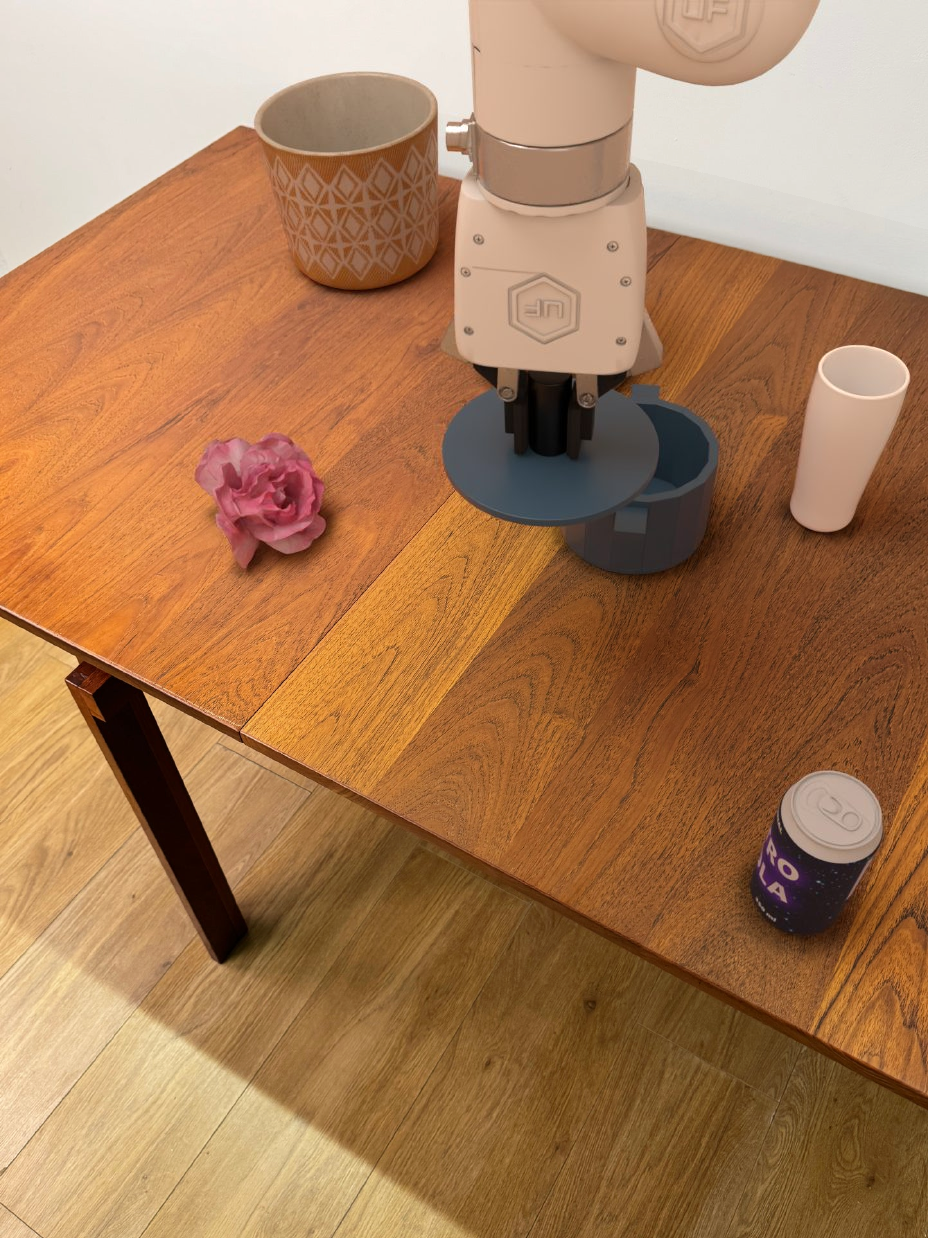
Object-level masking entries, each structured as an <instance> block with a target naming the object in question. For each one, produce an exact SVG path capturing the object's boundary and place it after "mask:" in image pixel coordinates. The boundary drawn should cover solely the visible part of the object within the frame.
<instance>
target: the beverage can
mask: <svg viewBox="0 0 928 1238" xmlns="http://www.w3.org/2000/svg"><path fill="white" fill-rule="evenodd" d="M883 837H884V822H883V813H882V808H881V805H880V802H879V800H878V798H877V796H876V795H875V794H874V792H873V791H872V790H871V789H870V788H869V786H867V785H866V784H865V783H864V782H862V781H861V780H859V779H857V778H856V777H854V776H852V775H850V774H849V773H845V772H841V771H836V770H818V771H813V772H812V773H808V774H807V775H805V776H803V777H801V778H800V780H798V781H796V782H793V784H792V785H790V786H789V788H787V789H786V791H785V792H784V794H783V795H782V797H781V799H780V802H779V804H778V807H777V810H776V812H775V814H774V818H773V820H772V823H771V825H770V827H769V831H768V833H767V836H766V838H765V841H764V843H763V846H762V848H761V852H760V854H759V857H758V858H757V861H756V864H755V866H754V870H753V871H752V874H751V879H750V893H751V897H752V900H753V903H754V905H755V907H756V909H757V910H758V912H759V913H760V914H761V916H762V917H763V918H764V919H765V920H766V921H767V922H768V923H770V924H771V925H772V926H774V927H776V928H777V929H779V930H781V931H783V932H785V933H789V934H792V935H796V936H813V935H817V934H820V933H823V932H825V931H827V930H828V929H830V928H831V927H832V926H833V925H834V924H835V923H836V922H837V920H838V919H839V916H840V915H841V914H842V911H843V909H844V908H845V907H846V904H847V903H848V901H849V899H850V898H851V896H852V894H853V892H855V889H856V887H857V886H858V884H859V882H860V881H861V879H862V877H863V875H864V874H865V872H866V870H867V869H868V867H869V865H870V864H871V862H872V860H873V859H874V856H875V855H876V853H877V851H878V850H879V848H880V846H881V844H882V841H883Z"/></svg>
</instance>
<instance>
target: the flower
mask: <svg viewBox="0 0 928 1238" xmlns="http://www.w3.org/2000/svg"><path fill="white" fill-rule="evenodd" d="M194 481H195V482H196V483H197V484H198V485H199V487H200V489H202V490H204V491H205V492H206V493H207V494H208V495H210V497H212V499H213V501H214V503H215V505H216V507H217V509H218V511H217V513H216V514H215V521H216V527H218V529H220V530H221V531H222V532H223V534H224V535H225V537H226V538H227V540H228V543H229V544H230V547H231V553H232V555H233V557H234V559H235V560H236V562H237V563H238V565H239V566H240V568H242V569H247V567H248V565H249V563H250V562H251V561H252V559H253V557H254V555H255V553H256V550H257V548H258V547H259V545H260V541H262V542H264V543H265V544H266V545H268V546H270V547H271V548H273V549H275V550H276V551H279V552H280V553H283V554H285V555H287V554H288V555H289V554H295V553H298V552H301V551H304V550H306V549H308V548H310V547H311V545H312V543H313V541H314V540H316V539H318V538H319V537H320V536H321V535H322V534H323V533H324V531H325V529H326V527H327V522H326V520H325V518H323V517H322V516H321V515H319V512H320V510H321V506H322V504H323V503H322V499H323V497H324V495H323V494H324V491H325V483H324V481H323V480H322V479H320V478H319V477H318V476H317V474H316V472H315V470H314V468H313V464H312V461H311V458H310V457H309V456H308V454H306V452H305V451H304V450H303V449H302V448H301V446H300V445H298V444H297V443H295V442H294V441H293V440H292V439H291V438H290V437H289V436H286V435H285V434H283V433H280V432H269V433H266V434H264V435H263V436H262V437H261V438H260V440H259V441H258V442H254V443H253V444H251V443H250V442H249V441H247V440H245V439H244V438H241V437H236V436H234V437H232V438H229V439H226V440H224V441H220V440H219V439H217V438H216V439H214V440H212V441H211V442H210V443H208V444H206V445H205V446H204V449H203V452H202V455H201V457H200V459H199V461H198V464H197V466H196V468H195V470H194Z"/></svg>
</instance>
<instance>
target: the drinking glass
mask: <svg viewBox="0 0 928 1238" xmlns="http://www.w3.org/2000/svg"><path fill="white" fill-rule="evenodd" d="M910 380H911V373H910V371H909V368H908V367H907V365H906V363H905V362H904V361H902V360H901V358H900V357H898V356H896V355H895V354H893V353H892V352H889V351H888V350H885V349H882V348H879V347H875V346H871V345H863V344H852V345H851V344H850V345H843V346H840V347H837V348H834V349H832V350H830V351H828V352H827V353H825V354H824V355H823V356H822V357H821V358H820V360H819V362H818V365H817V369H816V372H815V374H814V377H813V381H812V384H811V386H810V387H811V388H810V391H809V395H808V399H807V404H806V409H805V412H804V413H805V414H804V418H803V419H804V420H803V427H802V434H801V440H800V445H799V453H798V459H797V465H796V473H795V479H794V485H793V489H792V493H791V496H790V501H789V509H790V514H791V515H792V517H793V519H794V520H795V521H796V522H797V523H798V524H800V525H801V526H802V527H804V528H806V529H808V530H811V531H813V532H819V533H831V532H832V533H833V532H836V531H839V530H842V529H844V528H845V527H847V526H848V525H849V524H850V523H851V522H852V520H853V518H854V516H855V513H856V511H857V508H858V505H859V502H860V500H861V498H862V495H863V494H864V492H865V489H866V487H867V485H868V483H869V481H870V479H871V477H872V474H873V473H874V470H875V469H876V466H877V464H878V462H879V460H880V458H881V456H882V454H883V452H884V450H885V448H886V446H887V443H888V442H889V439H890V437H891V435H892V433H893V431H894V428H895V426H896V424H897V421H898V419H899V416H900V413H901V410H902V407H903V405H904V402H905V399H906V395H907V391H908V388H909V385H910V382H911V381H910Z"/></svg>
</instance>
